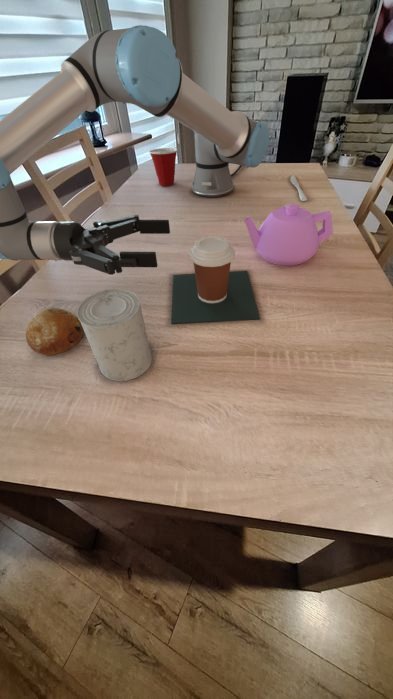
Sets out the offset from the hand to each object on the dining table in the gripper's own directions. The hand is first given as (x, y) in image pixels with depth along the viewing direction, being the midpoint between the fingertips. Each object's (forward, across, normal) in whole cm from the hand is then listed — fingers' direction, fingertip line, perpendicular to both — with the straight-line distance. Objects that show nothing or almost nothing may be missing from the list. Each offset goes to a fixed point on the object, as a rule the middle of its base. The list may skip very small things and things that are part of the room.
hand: (163, 242), depth 59 cm
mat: (+10, 0, -12) cm, 16 cm away
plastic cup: (-14, -74, -13) cm, 77 cm away
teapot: (+27, -19, -13) cm, 36 cm away
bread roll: (-20, +16, -12) cm, 28 cm away
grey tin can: (-5, +21, -12) cm, 25 cm away
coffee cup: (+10, 0, -12) cm, 16 cm away
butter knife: (+36, -68, -13) cm, 78 cm away
